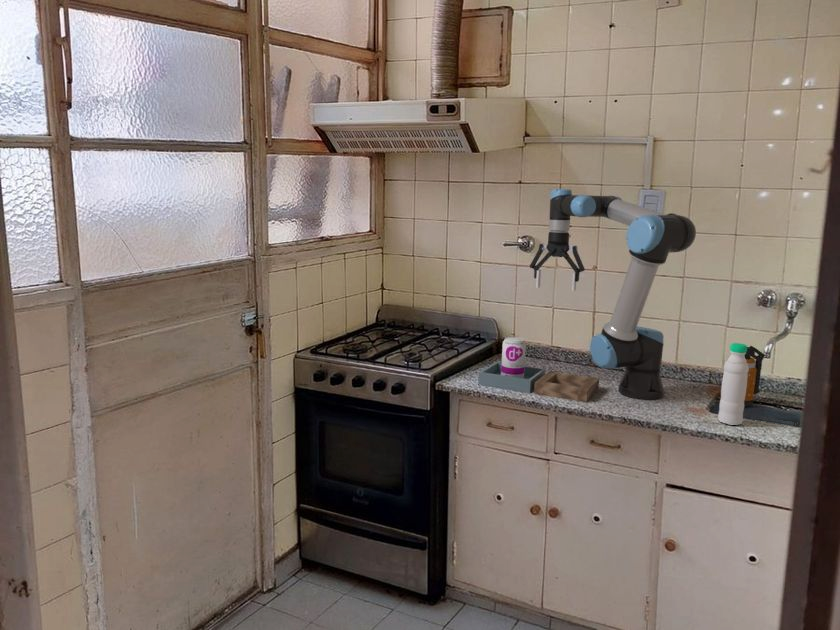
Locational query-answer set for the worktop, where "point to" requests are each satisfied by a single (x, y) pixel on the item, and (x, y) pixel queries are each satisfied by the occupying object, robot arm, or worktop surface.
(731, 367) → the white plastic bottle
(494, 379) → the tray
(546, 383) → the can holder
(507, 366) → the white soda can
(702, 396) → the worktop surface
